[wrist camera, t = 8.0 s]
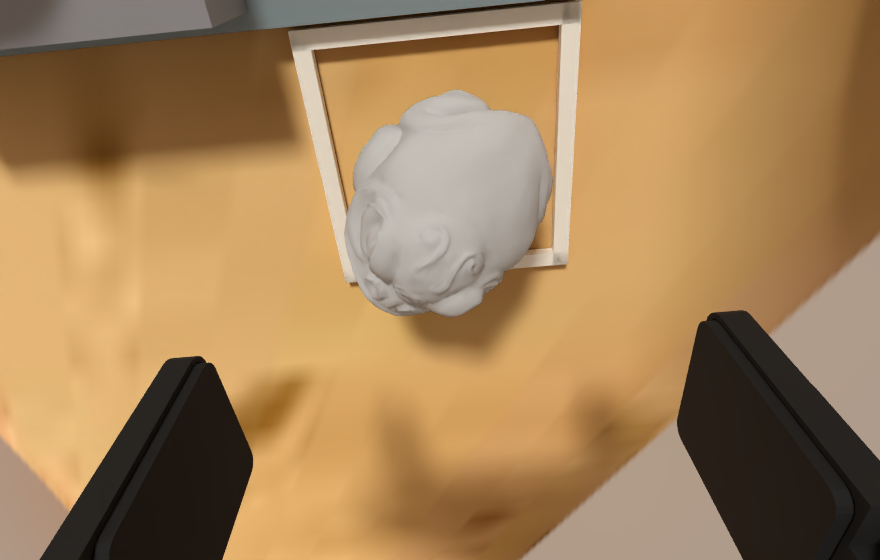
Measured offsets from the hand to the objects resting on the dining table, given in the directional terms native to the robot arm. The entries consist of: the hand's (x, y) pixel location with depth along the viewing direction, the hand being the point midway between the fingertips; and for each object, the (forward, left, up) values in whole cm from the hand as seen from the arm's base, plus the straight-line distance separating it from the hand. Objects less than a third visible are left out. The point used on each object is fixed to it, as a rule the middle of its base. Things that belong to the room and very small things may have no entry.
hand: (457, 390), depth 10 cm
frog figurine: (-1, 0, -11) cm, 11 cm away
